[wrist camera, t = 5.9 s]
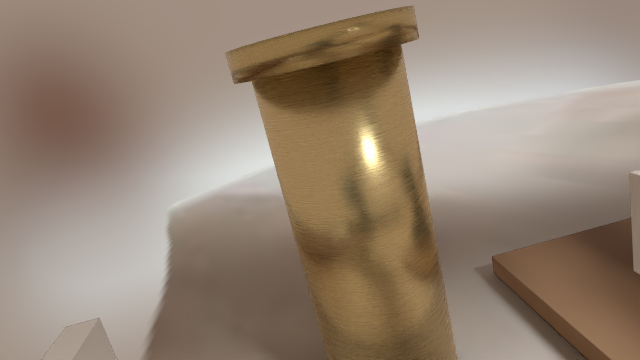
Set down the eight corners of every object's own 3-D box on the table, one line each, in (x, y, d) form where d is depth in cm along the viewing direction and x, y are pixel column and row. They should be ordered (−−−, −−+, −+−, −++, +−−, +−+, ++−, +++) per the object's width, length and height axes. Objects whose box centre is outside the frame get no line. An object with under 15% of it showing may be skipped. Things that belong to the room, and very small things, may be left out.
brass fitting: (439, 310, 22) (385, 17, 18) (505, 405, 16) (445, -6, 12) (314, 344, 22) (232, 55, 18) (332, 456, 16) (214, 51, 12)
